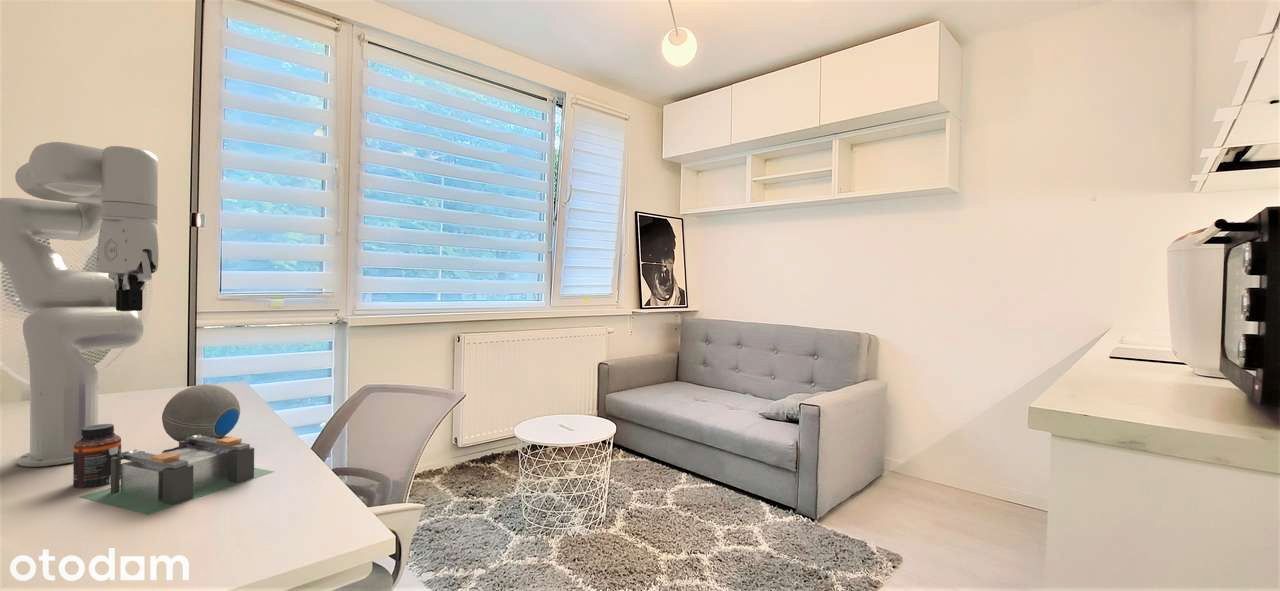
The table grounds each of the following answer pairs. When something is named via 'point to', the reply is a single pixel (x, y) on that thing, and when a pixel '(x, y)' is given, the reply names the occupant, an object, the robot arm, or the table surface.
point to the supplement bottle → (95, 456)
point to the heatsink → (149, 478)
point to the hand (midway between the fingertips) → (129, 310)
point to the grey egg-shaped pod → (200, 413)
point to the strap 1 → (154, 459)
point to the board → (155, 504)
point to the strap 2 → (219, 442)
